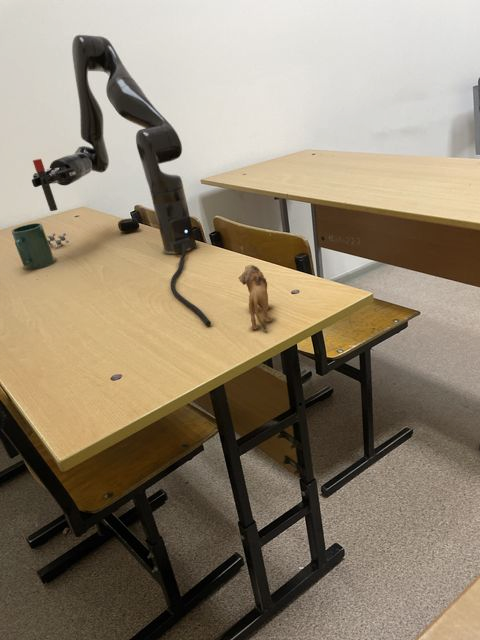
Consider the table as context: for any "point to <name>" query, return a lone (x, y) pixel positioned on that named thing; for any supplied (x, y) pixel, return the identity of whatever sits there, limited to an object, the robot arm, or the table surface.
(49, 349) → the table surface
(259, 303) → the brown animal figure
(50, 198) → the marker
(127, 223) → the tape measure
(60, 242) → the molecular model
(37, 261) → the mug
